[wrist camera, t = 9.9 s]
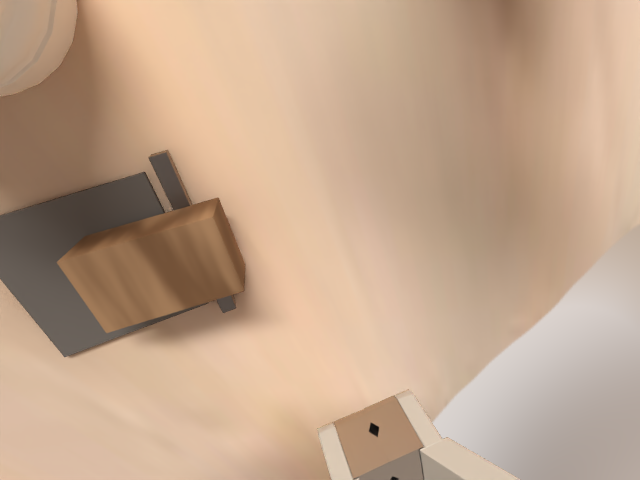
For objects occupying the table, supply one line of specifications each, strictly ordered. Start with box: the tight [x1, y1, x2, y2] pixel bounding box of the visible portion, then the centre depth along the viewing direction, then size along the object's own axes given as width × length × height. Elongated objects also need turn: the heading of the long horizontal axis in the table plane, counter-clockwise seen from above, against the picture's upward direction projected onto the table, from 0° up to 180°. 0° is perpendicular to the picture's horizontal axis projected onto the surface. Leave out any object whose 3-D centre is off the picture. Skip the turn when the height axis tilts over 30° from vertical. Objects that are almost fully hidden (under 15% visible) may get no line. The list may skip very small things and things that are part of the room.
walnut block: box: [57, 198, 245, 333], centre depth 24 cm, size 4×6×10 cm
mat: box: [0, 172, 208, 357], centre depth 26 cm, size 12×12×1 cm
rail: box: [149, 150, 236, 313], centre depth 27 cm, size 1×14×1 cm, turn 16°
